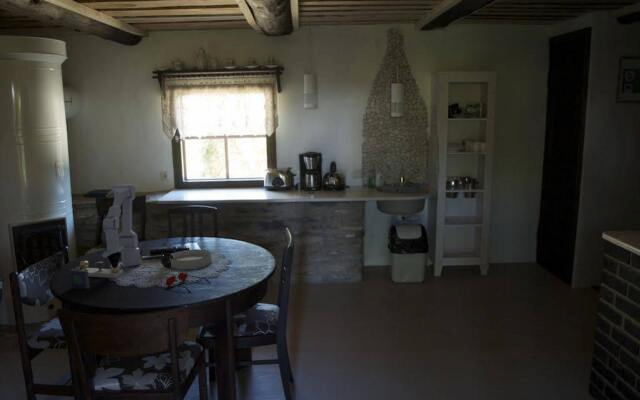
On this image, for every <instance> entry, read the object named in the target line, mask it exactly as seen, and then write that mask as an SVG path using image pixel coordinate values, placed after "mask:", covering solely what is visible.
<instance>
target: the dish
mask: <svg viewBox="0 0 640 400" xmlns="http://www.w3.org/2000/svg"><path fill="white" fill-rule="evenodd" d="M211 254H212V253H211V251H210V250H206V249H201V248H200V249H197V248H196V249H194V248H193V249H185V250H180V251H175V252H173V253H172V254H170V255H172V256H173V258H174V259H171V258H170V257H169V262H170V261H171V266H170V267H171V268H172V269H177V270H194V269H199V268H203V267H206V266H208V265H210V264H211V263H212V257H211Z"/></svg>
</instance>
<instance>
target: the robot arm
mask: <svg viewBox="0 0 640 400" xmlns="http://www.w3.org/2000/svg"><path fill="white" fill-rule="evenodd" d="M112 191H113V195H114V199H113V203H112V206H110V207H109V208H108V213H107V215H106V218H104V219H103V220H102V229H103V232H104V234H105V243H106V250H105V251H104V252H103V253H102V254H101V255H102V258H104V259H105V258H108V260H109V262H110V264H111V267H113V268H116V267H118V266H119V263H120V265H121V266H122V268H126V267H133V266H139V265H142V260H141V251H140V248H139V247H138V245H139V239H138V234H137V233H136V232H135V231H133V200H134V201H135V199H136V188H135V186H134V184H133V183H128V184H126V183H125V184H124V183H123V184H114V186H113V189H112ZM121 207H122V209H121ZM121 212H122V214H121ZM121 215H122V219H121V220H122V225H121V227H122V230H121V231H120V232H118V231H119V230H118V229H119V228H120V217H121ZM120 258H121V262H119V261H120Z"/></svg>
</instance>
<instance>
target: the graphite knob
mask: <svg viewBox="0 0 640 400" xmlns="http://www.w3.org/2000/svg"><path fill="white" fill-rule="evenodd" d="M94 266H95V267H94V268H99V270H101V269H104V267H105V263H104V261H100V260H99V261H96V262H94Z"/></svg>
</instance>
